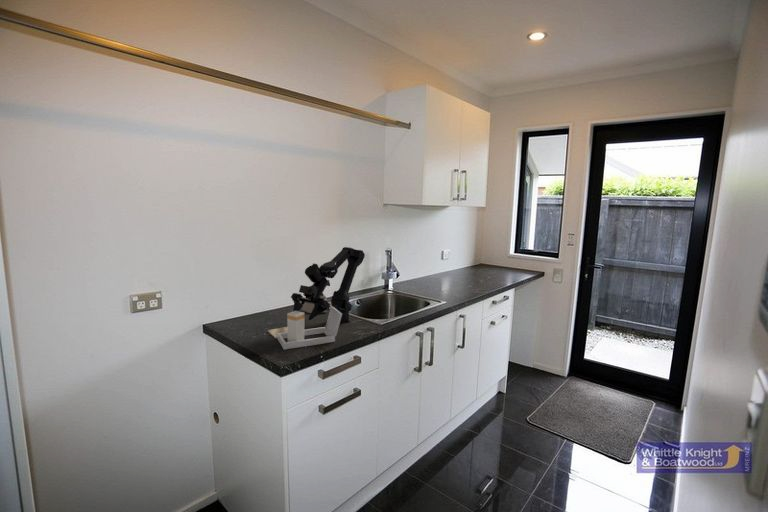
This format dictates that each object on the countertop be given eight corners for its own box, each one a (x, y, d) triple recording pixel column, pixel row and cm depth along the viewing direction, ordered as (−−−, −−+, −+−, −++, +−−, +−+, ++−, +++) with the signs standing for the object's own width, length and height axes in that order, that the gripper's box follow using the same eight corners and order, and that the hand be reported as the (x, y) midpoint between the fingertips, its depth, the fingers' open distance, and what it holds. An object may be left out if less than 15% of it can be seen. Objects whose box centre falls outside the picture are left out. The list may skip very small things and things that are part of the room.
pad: (288, 327, 176) (288, 326, 176) (297, 333, 168) (297, 332, 168) (267, 331, 170) (267, 330, 170) (275, 338, 162) (275, 337, 162)
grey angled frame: (332, 330, 173) (332, 305, 171) (342, 340, 162) (342, 313, 160) (277, 338, 161) (277, 311, 160) (283, 349, 150) (283, 320, 148)
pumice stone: (300, 312, 200) (300, 294, 199) (306, 308, 207) (306, 291, 206) (326, 315, 197) (326, 297, 195) (331, 311, 204) (331, 293, 203)
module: (295, 339, 162) (295, 310, 160) (304, 341, 159) (304, 312, 157) (287, 342, 157) (287, 313, 155) (296, 345, 155) (296, 315, 153)
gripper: (293, 275, 166) (275, 304, 158) (326, 280, 157) (308, 311, 149) (305, 289, 174) (288, 317, 166) (337, 295, 165) (321, 325, 157)
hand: (301, 317), depth 159 cm, fingers open, 9 cm apart
